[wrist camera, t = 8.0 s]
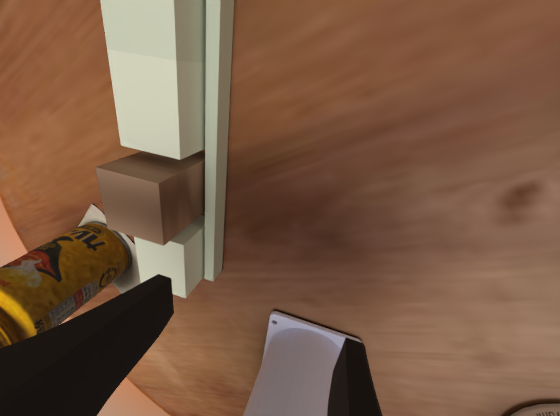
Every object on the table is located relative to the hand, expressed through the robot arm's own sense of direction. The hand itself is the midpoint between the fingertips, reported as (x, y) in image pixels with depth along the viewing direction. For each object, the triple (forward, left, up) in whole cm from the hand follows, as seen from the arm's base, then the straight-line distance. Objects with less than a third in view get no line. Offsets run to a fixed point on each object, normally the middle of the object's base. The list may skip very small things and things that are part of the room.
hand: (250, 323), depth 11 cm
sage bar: (+3, +9, -10) cm, 14 cm away
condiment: (-10, +18, -10) cm, 23 cm away
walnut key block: (+1, +9, -10) cm, 13 cm away
